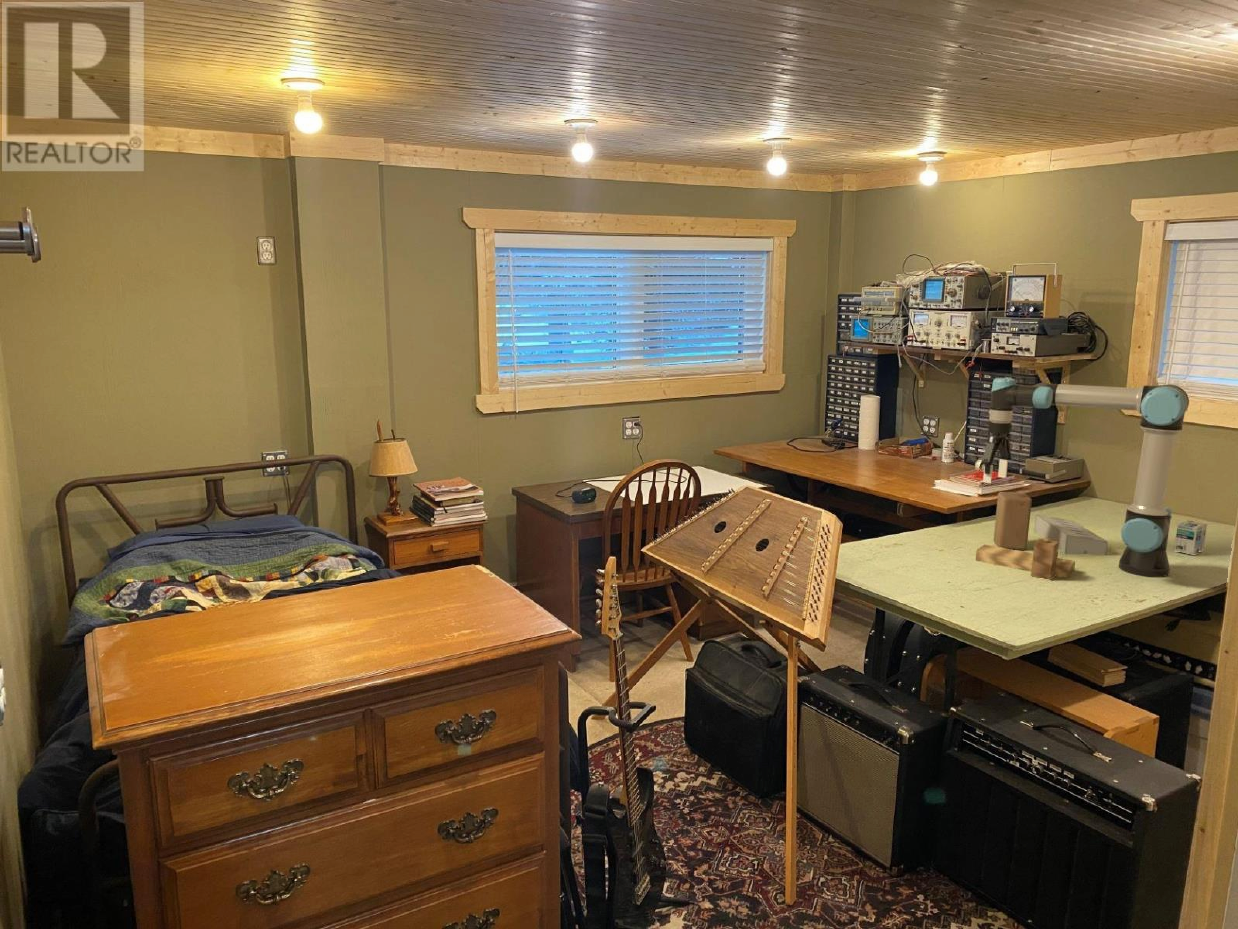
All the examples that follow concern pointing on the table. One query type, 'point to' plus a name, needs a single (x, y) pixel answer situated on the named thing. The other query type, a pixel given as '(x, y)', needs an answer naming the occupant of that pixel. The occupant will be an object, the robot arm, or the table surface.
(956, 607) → the table surface
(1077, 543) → the warehouse
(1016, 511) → the wooden block
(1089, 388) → the robot arm
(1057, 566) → the plank
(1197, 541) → the light bulb box
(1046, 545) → the wooden box
